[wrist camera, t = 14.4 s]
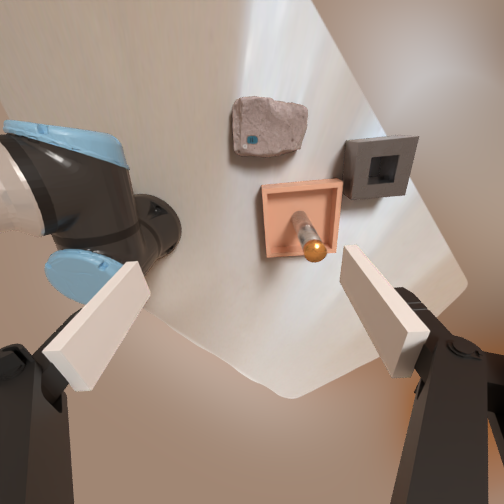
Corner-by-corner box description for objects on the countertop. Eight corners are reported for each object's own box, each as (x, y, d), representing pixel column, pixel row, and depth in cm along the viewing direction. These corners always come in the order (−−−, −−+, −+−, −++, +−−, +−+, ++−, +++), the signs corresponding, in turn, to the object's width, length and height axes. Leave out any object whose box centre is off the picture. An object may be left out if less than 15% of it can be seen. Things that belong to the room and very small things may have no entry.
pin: (291, 226, 52) (304, 263, 38) (291, 211, 50) (304, 244, 36) (306, 224, 52) (326, 261, 38) (307, 209, 50) (327, 242, 36)
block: (340, 191, 48) (351, 199, 43) (346, 140, 43) (358, 142, 38) (388, 187, 48) (404, 195, 43) (399, 135, 43) (419, 136, 38)
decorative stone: (233, 154, 45) (231, 157, 40) (234, 97, 40) (231, 92, 35) (299, 157, 45) (304, 161, 40) (307, 101, 41) (314, 98, 36)
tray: (266, 250, 56) (266, 257, 53) (261, 185, 48) (261, 189, 45) (331, 245, 55) (336, 252, 52) (337, 178, 47) (343, 181, 44)
